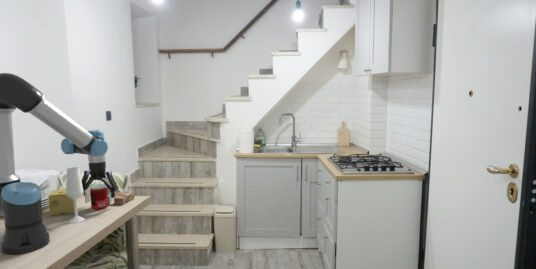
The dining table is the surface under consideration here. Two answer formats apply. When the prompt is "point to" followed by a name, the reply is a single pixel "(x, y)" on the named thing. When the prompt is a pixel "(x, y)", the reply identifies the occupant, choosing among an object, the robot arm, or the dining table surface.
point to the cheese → (60, 203)
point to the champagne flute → (74, 190)
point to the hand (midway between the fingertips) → (99, 202)
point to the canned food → (99, 196)
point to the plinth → (122, 198)
